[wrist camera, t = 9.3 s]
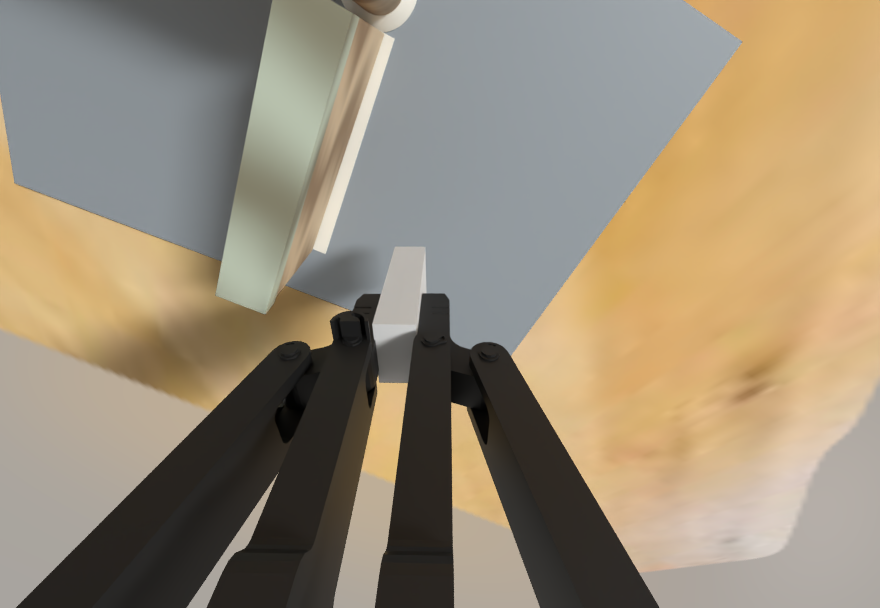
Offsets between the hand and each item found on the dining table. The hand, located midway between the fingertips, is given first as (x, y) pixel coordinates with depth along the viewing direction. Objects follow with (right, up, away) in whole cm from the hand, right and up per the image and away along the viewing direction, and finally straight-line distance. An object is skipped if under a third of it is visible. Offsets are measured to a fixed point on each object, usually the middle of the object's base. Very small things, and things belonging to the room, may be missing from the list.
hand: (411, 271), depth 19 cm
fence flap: (-5, +7, +1) cm, 8 cm away
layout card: (-4, +8, +1) cm, 9 cm away
